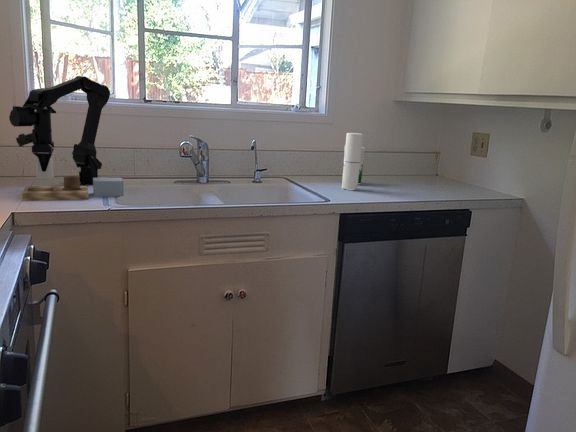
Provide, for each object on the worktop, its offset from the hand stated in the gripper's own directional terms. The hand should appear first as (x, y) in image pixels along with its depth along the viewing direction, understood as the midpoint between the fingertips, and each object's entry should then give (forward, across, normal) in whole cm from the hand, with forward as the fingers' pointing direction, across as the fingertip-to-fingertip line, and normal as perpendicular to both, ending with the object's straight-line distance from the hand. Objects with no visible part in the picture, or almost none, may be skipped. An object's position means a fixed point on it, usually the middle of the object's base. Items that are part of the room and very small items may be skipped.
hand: (44, 169), depth 178 cm
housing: (+8, +10, +21) cm, 24 cm away
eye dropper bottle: (+4, 0, 0) cm, 4 cm away
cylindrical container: (+8, +6, +124) cm, 124 cm away
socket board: (+8, +12, +4) cm, 15 cm away
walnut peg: (+8, +12, +9) cm, 17 cm away
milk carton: (+8, -8, +133) cm, 134 cm away
